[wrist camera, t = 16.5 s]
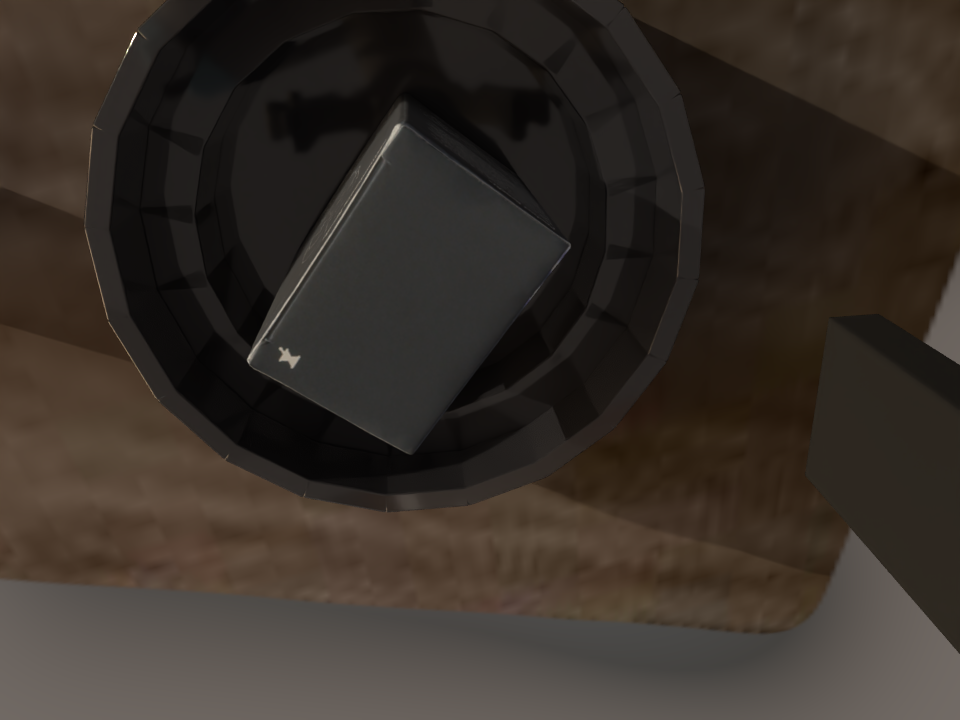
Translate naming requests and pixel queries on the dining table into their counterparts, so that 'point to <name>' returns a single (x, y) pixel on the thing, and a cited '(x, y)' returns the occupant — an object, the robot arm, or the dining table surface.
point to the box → (407, 278)
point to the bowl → (318, 174)
